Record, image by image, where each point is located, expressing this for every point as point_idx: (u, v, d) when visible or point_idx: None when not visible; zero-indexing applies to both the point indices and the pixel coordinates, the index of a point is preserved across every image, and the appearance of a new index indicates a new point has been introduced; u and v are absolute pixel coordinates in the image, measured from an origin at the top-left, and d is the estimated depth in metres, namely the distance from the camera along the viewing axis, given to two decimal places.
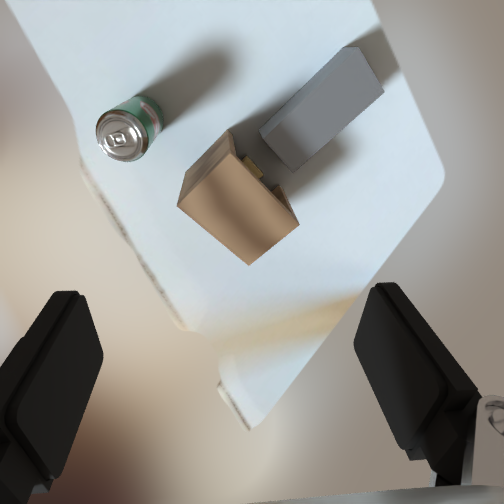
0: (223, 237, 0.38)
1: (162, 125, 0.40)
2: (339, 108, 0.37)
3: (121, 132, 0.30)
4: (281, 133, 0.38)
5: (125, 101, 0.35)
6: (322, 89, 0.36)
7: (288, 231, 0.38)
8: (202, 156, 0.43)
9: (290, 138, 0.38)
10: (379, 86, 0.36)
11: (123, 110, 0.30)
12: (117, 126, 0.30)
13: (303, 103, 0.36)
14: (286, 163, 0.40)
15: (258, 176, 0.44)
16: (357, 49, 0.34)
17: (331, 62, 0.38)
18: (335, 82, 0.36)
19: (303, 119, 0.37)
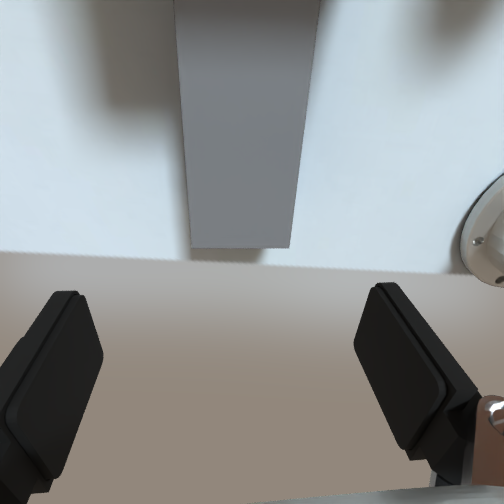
0: None
1: None
2: (228, 167, 0.16)
3: None
4: (293, 3, 0.13)
5: None
6: (287, 162, 0.16)
7: None
8: None
9: (263, 15, 0.13)
10: (207, 245, 0.19)
11: None
12: None
13: (300, 110, 0.15)
14: None
15: None
16: (287, 245, 0.19)
17: None
18: (277, 188, 0.17)
19: (273, 84, 0.14)
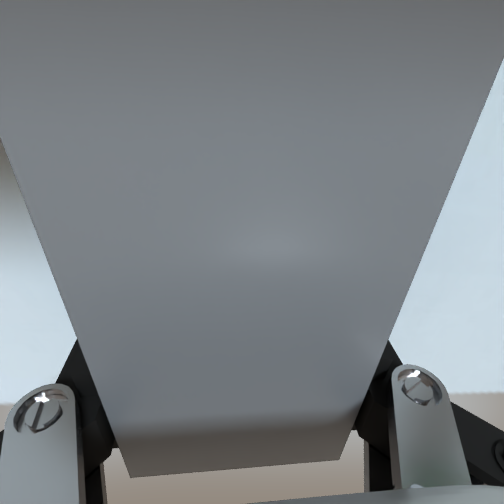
0: None
1: None
2: (204, 355, 0.06)
3: None
4: None
5: None
6: (359, 336, 0.06)
7: None
8: None
9: None
10: (165, 472, 0.09)
11: None
12: None
13: (417, 225, 0.05)
14: None
15: None
16: (336, 456, 0.09)
17: None
18: (326, 382, 0.07)
19: (346, 156, 0.04)
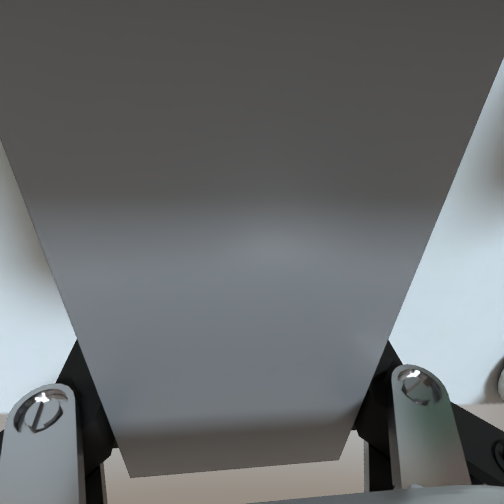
0: None
1: None
2: (203, 356, 0.06)
3: None
4: None
5: None
6: (359, 336, 0.06)
7: None
8: None
9: None
10: (165, 472, 0.09)
11: None
12: None
13: (416, 226, 0.05)
14: None
15: None
16: (336, 456, 0.09)
17: None
18: (325, 382, 0.07)
19: (345, 157, 0.04)
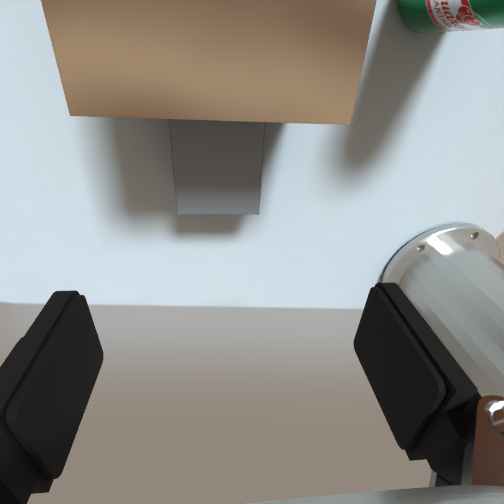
0: None
1: (403, 5, 0.20)
2: (206, 145, 0.20)
3: None
4: None
5: None
6: (253, 140, 0.20)
7: (65, 71, 0.12)
8: None
9: None
10: (190, 212, 0.23)
11: None
12: None
13: None
14: None
15: None
16: (257, 211, 0.23)
17: None
18: (246, 162, 0.21)
19: None
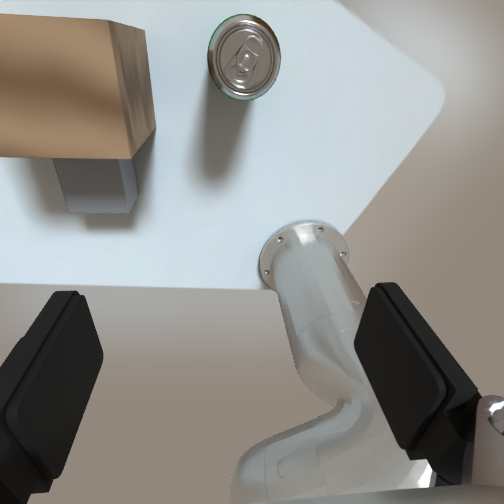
0: None
1: None
2: (79, 166, 0.30)
3: (249, 70, 0.21)
4: None
5: None
6: (112, 163, 0.30)
7: None
8: (148, 76, 0.30)
9: None
10: (78, 211, 0.32)
11: (262, 94, 0.23)
12: (257, 76, 0.21)
13: None
14: None
15: None
16: (127, 211, 0.33)
17: (133, 180, 0.35)
18: (110, 177, 0.31)
19: None
